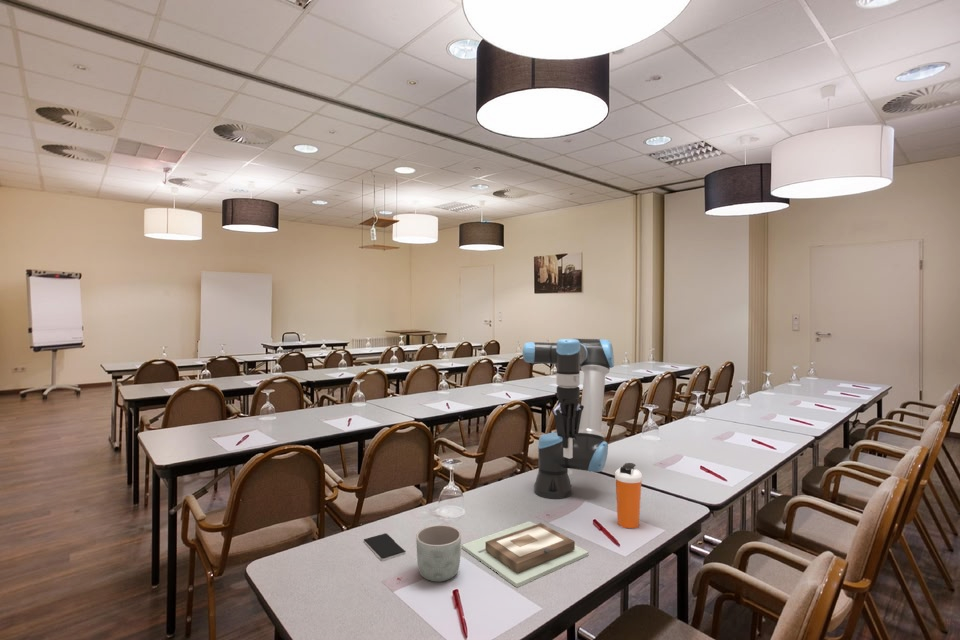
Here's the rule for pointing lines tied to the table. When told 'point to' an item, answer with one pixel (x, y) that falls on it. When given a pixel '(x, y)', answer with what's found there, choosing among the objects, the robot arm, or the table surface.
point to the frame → (529, 547)
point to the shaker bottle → (628, 495)
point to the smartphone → (384, 547)
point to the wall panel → (527, 575)
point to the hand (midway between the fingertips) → (567, 457)
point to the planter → (438, 552)
